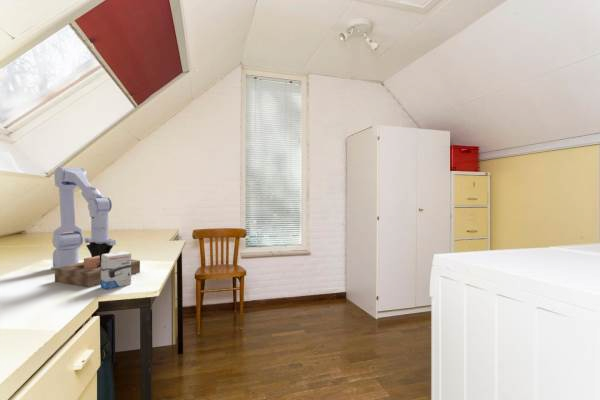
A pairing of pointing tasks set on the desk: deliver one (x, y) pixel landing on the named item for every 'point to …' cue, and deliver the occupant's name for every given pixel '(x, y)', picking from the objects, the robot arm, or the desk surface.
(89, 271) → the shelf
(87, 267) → the pink notched block
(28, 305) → the desk surface
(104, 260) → the ink box
